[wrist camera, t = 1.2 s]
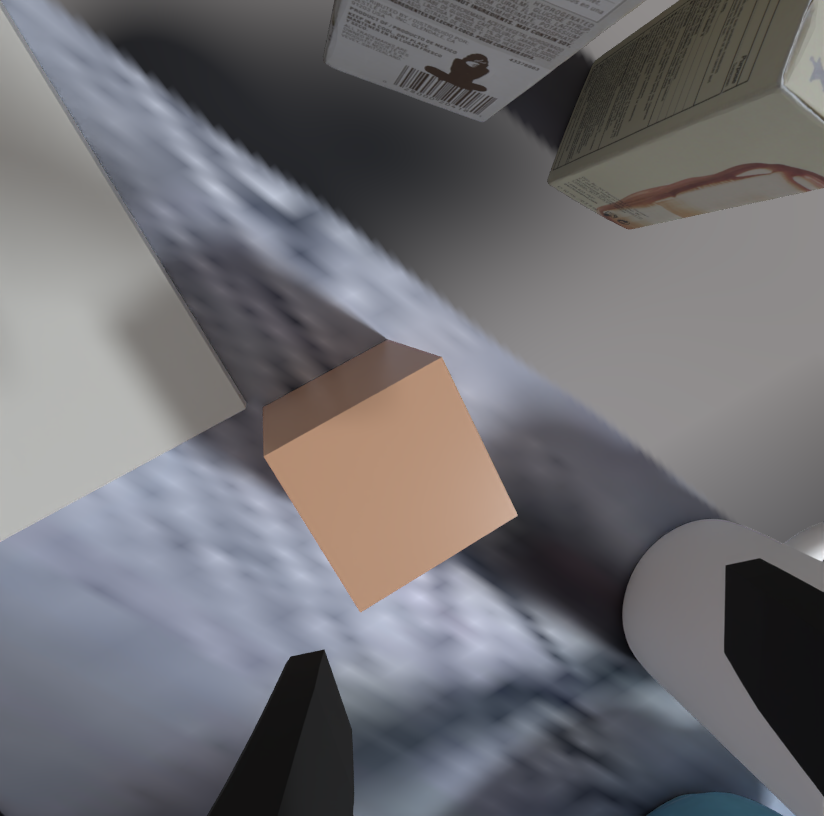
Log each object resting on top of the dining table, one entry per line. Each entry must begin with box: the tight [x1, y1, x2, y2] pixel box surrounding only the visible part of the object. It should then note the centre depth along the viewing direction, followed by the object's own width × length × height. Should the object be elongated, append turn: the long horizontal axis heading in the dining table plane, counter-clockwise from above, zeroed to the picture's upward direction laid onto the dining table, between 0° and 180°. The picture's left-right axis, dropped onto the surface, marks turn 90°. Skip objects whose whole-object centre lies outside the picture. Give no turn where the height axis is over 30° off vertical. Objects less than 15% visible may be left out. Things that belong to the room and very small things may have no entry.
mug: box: [622, 519, 824, 816], centre depth 22 cm, size 12×8×10 cm
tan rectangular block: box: [263, 339, 518, 612], centre depth 18 cm, size 5×5×7 cm
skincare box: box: [547, 0, 824, 229], centre depth 17 cm, size 5×4×10 cm
